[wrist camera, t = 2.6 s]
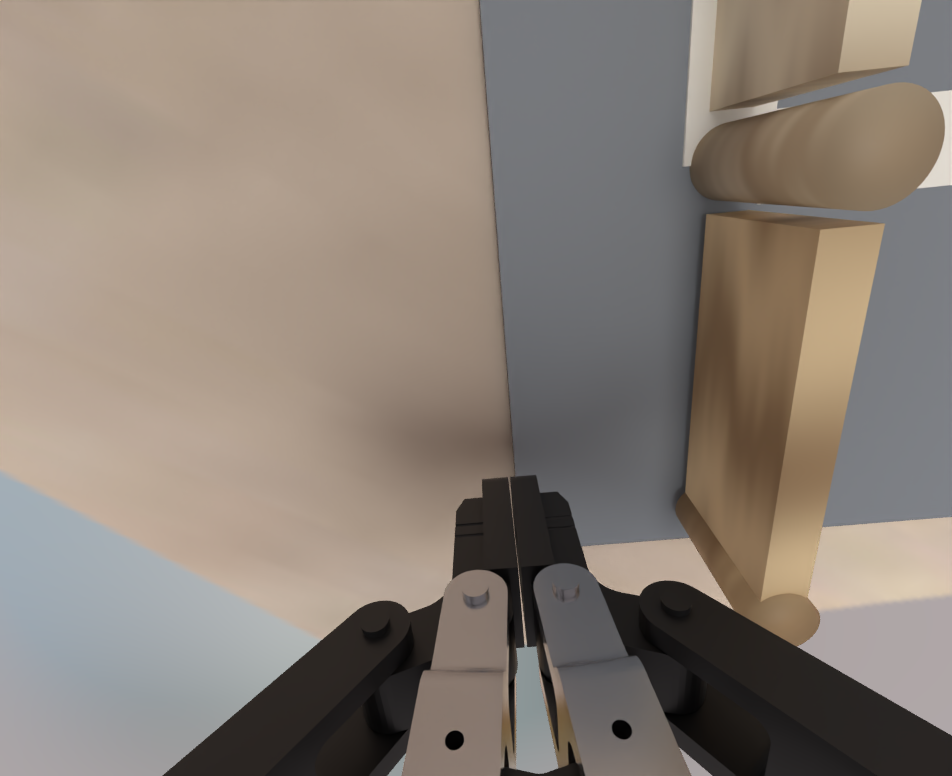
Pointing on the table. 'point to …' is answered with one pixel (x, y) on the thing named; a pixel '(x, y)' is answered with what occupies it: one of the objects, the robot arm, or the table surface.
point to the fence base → (817, 106)
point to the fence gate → (772, 401)
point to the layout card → (682, 266)
